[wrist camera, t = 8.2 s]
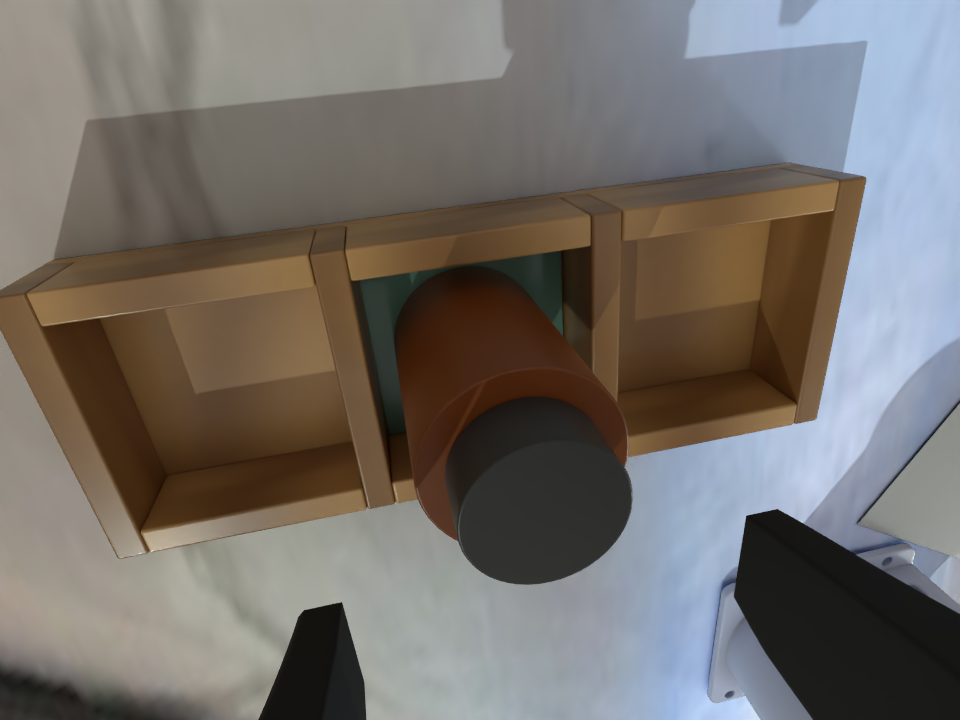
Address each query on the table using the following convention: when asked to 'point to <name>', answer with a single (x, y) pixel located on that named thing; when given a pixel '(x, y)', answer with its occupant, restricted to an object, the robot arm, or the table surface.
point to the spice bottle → (508, 430)
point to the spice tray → (371, 352)
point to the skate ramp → (925, 495)
